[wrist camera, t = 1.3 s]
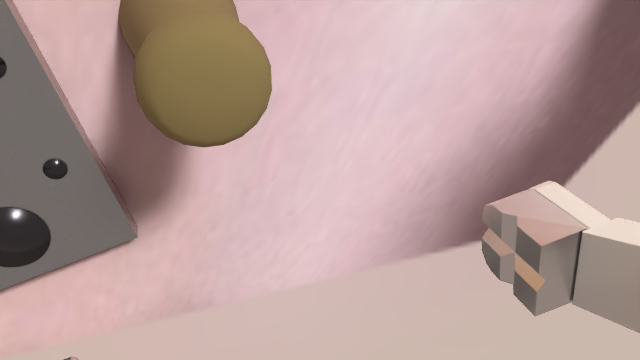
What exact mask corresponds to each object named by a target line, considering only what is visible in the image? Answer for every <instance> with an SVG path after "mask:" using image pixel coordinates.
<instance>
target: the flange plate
mask: <svg viewBox="0 0 640 360" xmlns="http://www.w3.org/2000/svg"><path fill="white" fill-rule="evenodd" d="M137 237H138V234H137V225H136V223H135V222H134V220H133V218H132V216H131V214H130V213H129V211H128V209H127V207H126V205H125V204H124V202H123V200H122V198H121V196H120V195H119V193H118V191H117V189H116V187H115V186H114V184H113V182H112V180H111V178H110V176H109V175H108V173H107V171H106V169H105V167H104V166H103V164H102V162H101V160H100V158H99V157H98V155H97V153H96V151H95V149H94V148H93V146H92V144H91V142H90V140H89V139H88V137H87V135H86V133H85V131H84V129H83V128H82V126H81V124H80V122H79V120H78V119H77V117H76V115H75V113H74V111H73V110H72V108H71V106H70V104H69V102H68V101H67V99H66V97H65V95H64V93H63V91H62V90H61V88H60V86H59V84H58V82H57V81H56V79H55V77H54V75H53V73H52V72H51V70H50V68H49V66H48V64H47V63H46V61H45V59H44V57H43V55H42V54H41V52H40V50H39V48H38V46H37V44H36V43H35V41H34V39H33V37H32V35H31V34H30V32H29V30H28V28H27V26H26V25H25V23H24V21H23V19H22V17H21V16H20V14H19V12H18V10H17V8H16V7H15V5H14V3H13V1H12V0H0V290H2V289H4V288H7V287H9V286H12V285H15V284H17V283H20V282H22V281H25V280H28V279H30V278H33V277H35V276H38V275H41V274H43V273H46V272H49V271H51V270H54V269H56V268H59V267H62V266H64V265H67V264H69V263H72V262H75V261H77V260H80V259H82V258H85V257H88V256H90V255H93V254H95V253H98V252H101V251H103V250H106V249H108V248H111V247H114V246H116V245H119V244H121V243H124V242H127V241H129V240H132V239H135V238H137Z"/></svg>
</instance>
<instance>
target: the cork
mask: <svg viewBox="0 0 640 360" xmlns="http://www.w3.org/2000/svg"><path fill="white" fill-rule="evenodd" d="M119 21H120V26H121V32H122V35H123V37H124V39H125V41H126V42H127V44H128V46H129V48H130V50H131V52H132V53H133V55H134V57H135V58H136V63H135V69H134V84H135V89H136V95H137V101H138V102H139V104H140V106H141V108H142V110H143V111H144V113H145V115H146V117H147V118H148V120H149V121H150V122H151V123H152V124H153V125H154V126H156V127H157V128H158V129H159V130H160V131H161V132H162V133H163V134H164V135H166V136H167V137H169V138H171V139H173V140H176V141H178V142H180V143H182V144H184V145H191V146H198V147H210V146H218V145H224V144H226V143H229V142H231V141H233V140H235V139H238V138H240V137H242V136H243V135H244V134H245V133H247V132H248V131H249V130H250V129H251V128H253V127H254V126H255V125H256V124H257V122H258V121H259V119H260V118H261V116H262V115H263V113H264V112H265V110H266V109H267V105H268V102H269V98H270V95H271V91H272V84H271V65H270V63H269V60H268V58H267V55H266V52H265V50H264V47H263V46H262V45H261V44H260V42H259V41H258V40H257V39H256V37H255V36H254V35H253V34H252V33H251V31H250V30H249V29H248V28H247V27H246V26H244V25H243V24H241V23H239V19H238V15H237V11H236V7H235V4H234V2H233V0H121V2H120V9H119Z"/></svg>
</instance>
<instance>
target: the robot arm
mask: <svg viewBox="0 0 640 360" xmlns="http://www.w3.org/2000/svg"><path fill="white" fill-rule="evenodd" d="M482 222H483V223H484V224H485V225H486V226H487V227H488V229H487V231H486V232H485V234H484V236H483V237H482V251H483V254H484V257H485V260H486V263H487V265H488V266H489V268H490V269H491V271H492V272H493V273H494V274H495V275H496V277H497V278H498V279H499V280H501V281H504V282H507V283H510V284H513V290H514V295H515V296H516V297H517V298H518V299H519V300H520V301H521V302H522V303H523V304H524V305H525V306H526V307H527V308H528V309H529V311H531V312H532V314H534V316H537V315H540V314H542V313H545V312H547V311H550V310H553V309H555V308H558V307H560V306H563V305H565V304H568V303H571V302H572V303H573V304H574V305H576V306H578V307H580V308H583V309H585V310H587V311H590V312H592V313H594V314H597V315H599V316H602V317H604V318H606V319H608V320H611V321H613V322H615V323H618V324H620V325H622V326H624V327H627V328H629V329H631V330H634V331H636V332H638V333H640V223H639V222H635V221H630V220H626V219H621V218H615V219H613V220H610V219H609V218H607V217H606V216H604V215H603V214H602V213H600V212H599V211H597V210H596V209H594V208H593V207H591V206H590V205H588V204H587V203H586V202H584V201H583V200H581V199H580V198H578V197H577V196H575V195H574V194H572V193H571V192H570V191H568V190H566V189H565V188H564V187H562V186H561V185H559V184H558V183H556V182H553V181H546V182H544V183H541V184H539V185H536V186H533V187H531V188H528V189H527V190H524V191H521V192H518V193H516V194H513V195H510V196H508V197H505V198H503V199H500V200H497V201H495V202H492V203H489V204H487V205H485V206H484V209H483V211H482ZM64 360H78V358H76V357H70V358H67V359H64Z"/></svg>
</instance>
